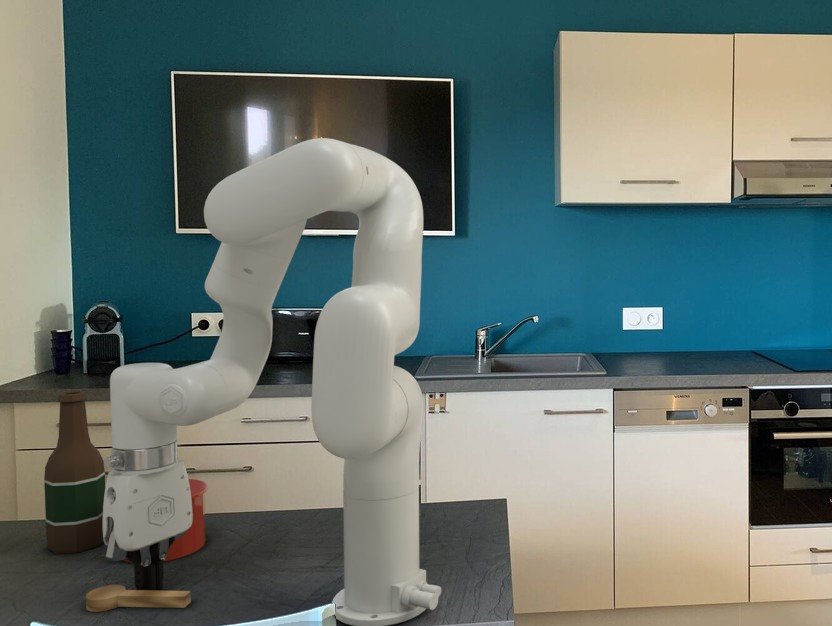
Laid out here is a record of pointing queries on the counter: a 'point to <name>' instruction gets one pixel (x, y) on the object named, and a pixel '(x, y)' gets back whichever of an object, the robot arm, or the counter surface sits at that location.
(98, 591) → the spoon
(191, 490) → the pot lid
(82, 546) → the beer bottle
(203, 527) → the pot
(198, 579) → the counter surface
